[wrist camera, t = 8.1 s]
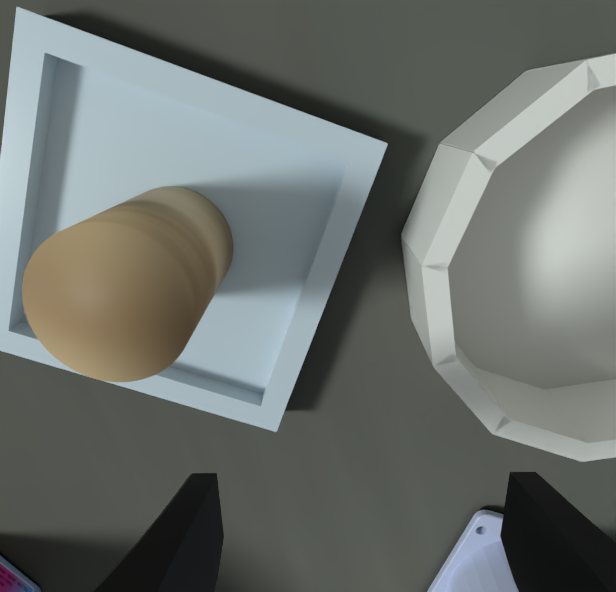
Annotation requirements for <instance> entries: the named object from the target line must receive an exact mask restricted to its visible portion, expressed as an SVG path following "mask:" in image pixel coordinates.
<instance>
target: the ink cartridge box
mask: <svg viewBox="0 0 616 592" xmlns="http://www.w3.org/2000/svg"><path fill="white" fill-rule="evenodd" d="M0 592H41V589H40V588H39V587H38V586H37V585H36V584H35V583H33V582H32V581H31V580H30V579H29V578H27V577H26V576H25V575H24V574H23V573H21V572H20V571H19V570H18V569H16V568H15V567H14V566H13V565H12V564H10V563H9V562H8V561H7V560H6V559H4V558H3V557H2V556H1V555H0Z"/></svg>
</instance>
